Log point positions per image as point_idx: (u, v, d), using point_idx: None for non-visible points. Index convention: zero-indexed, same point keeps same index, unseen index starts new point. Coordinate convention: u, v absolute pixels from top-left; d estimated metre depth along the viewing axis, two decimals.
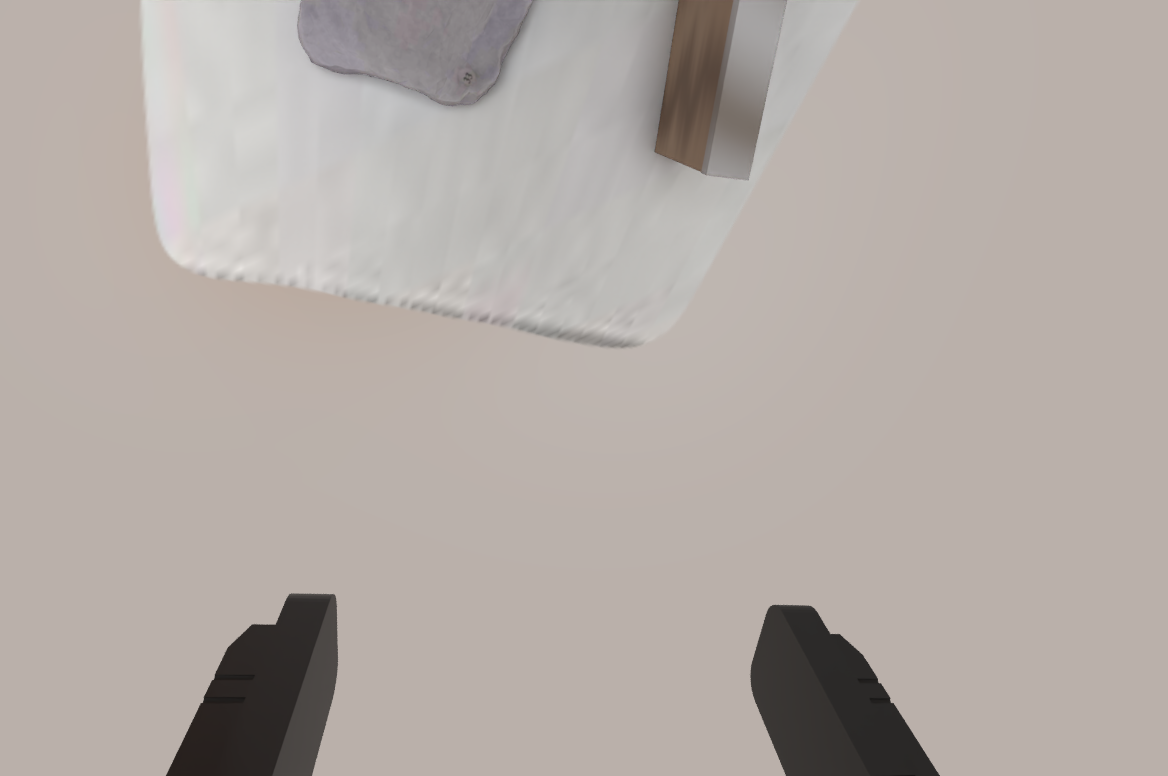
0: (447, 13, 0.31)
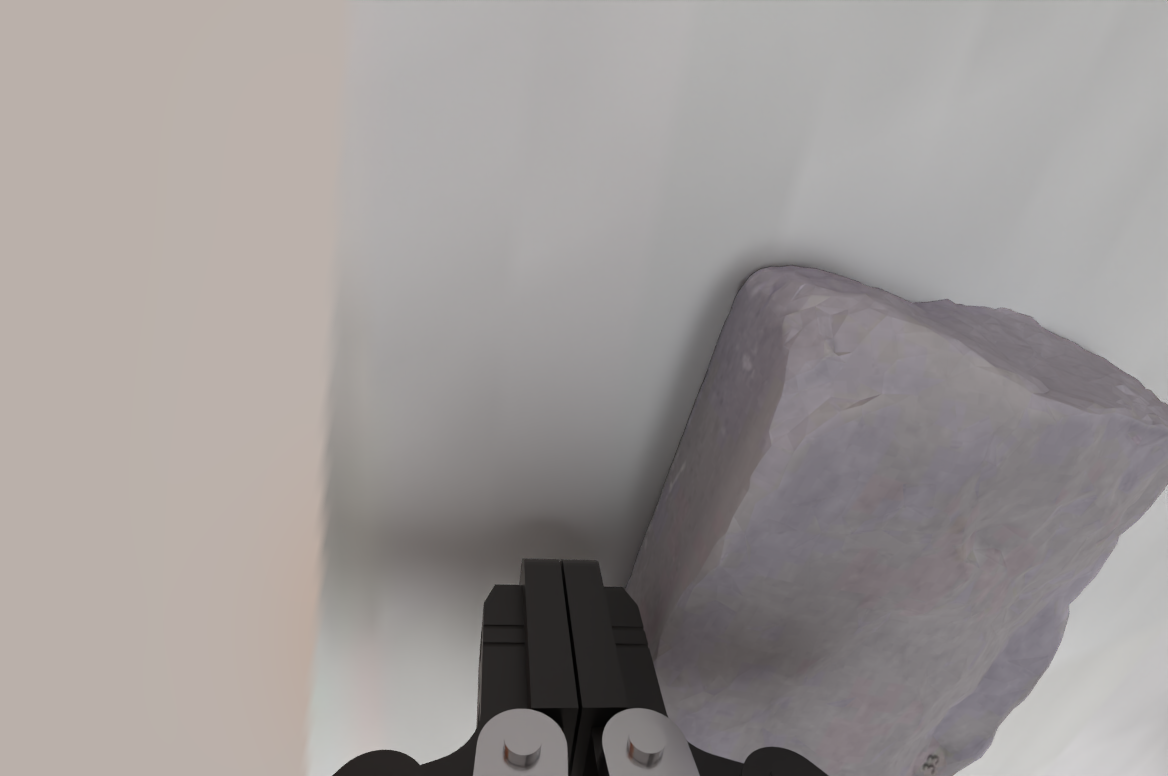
0: (932, 702, 0.14)
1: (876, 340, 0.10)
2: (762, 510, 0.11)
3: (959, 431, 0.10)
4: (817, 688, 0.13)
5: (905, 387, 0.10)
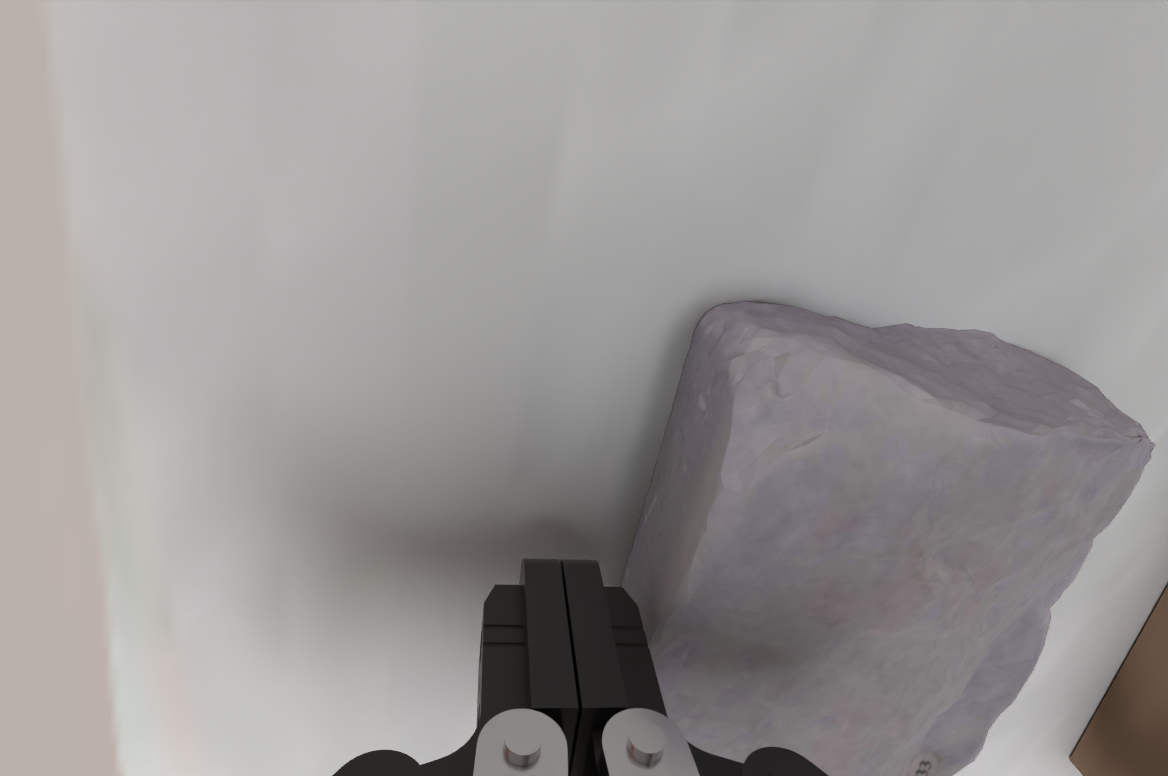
0: (915, 713, 0.14)
1: (817, 381, 0.11)
2: (721, 547, 0.11)
3: (904, 463, 0.11)
4: (798, 707, 0.14)
5: (847, 425, 0.11)
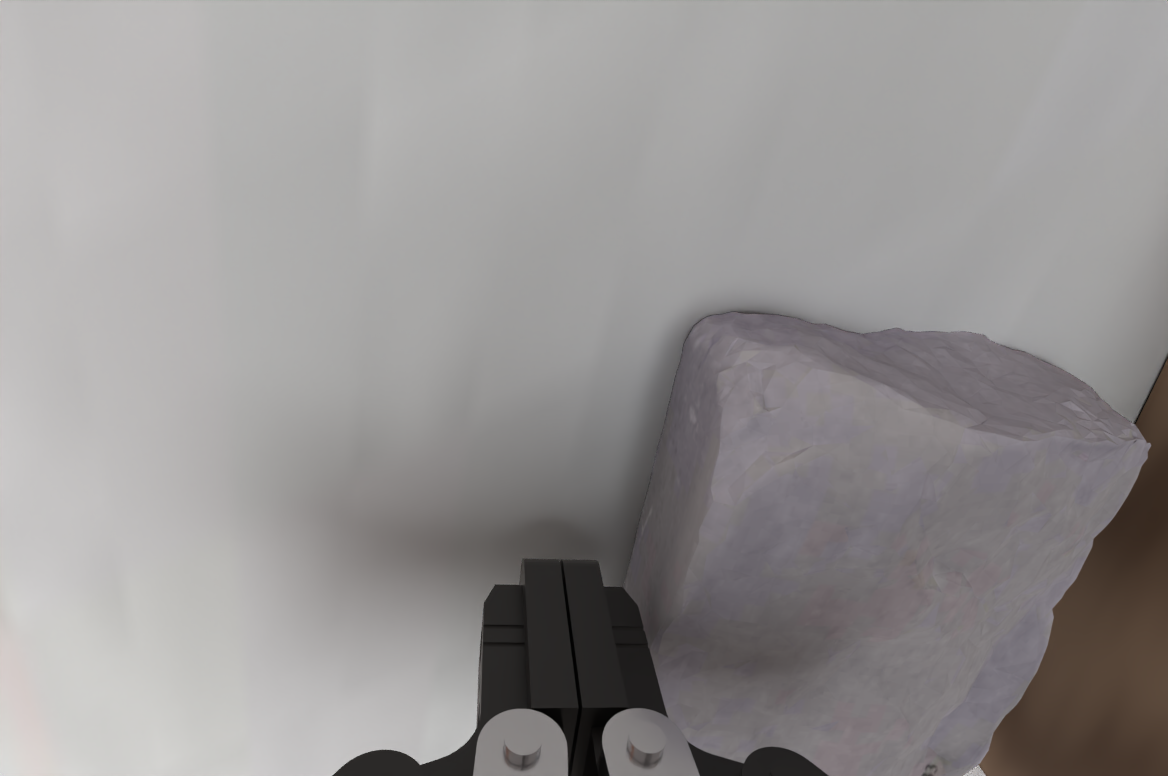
0: (917, 718, 0.14)
1: (804, 393, 0.11)
2: (714, 560, 0.11)
3: (893, 474, 0.11)
4: (799, 715, 0.14)
5: (835, 437, 0.11)
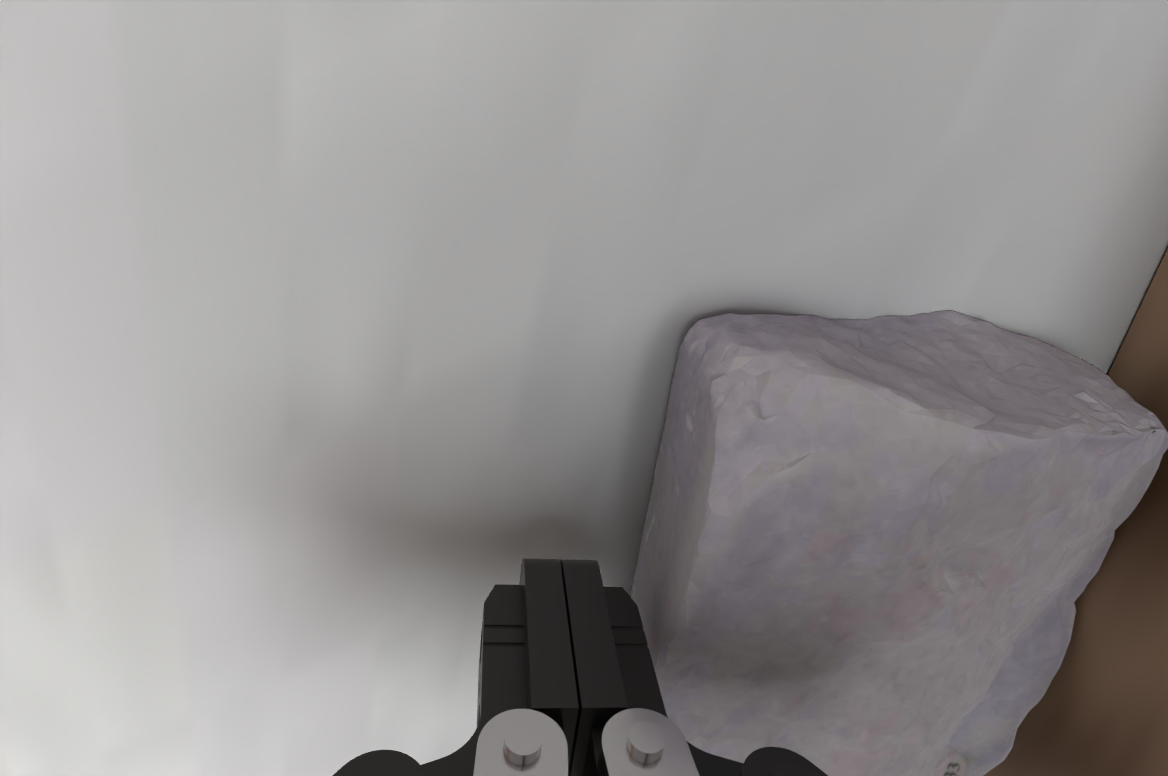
0: (935, 719, 0.14)
1: (800, 400, 0.10)
2: (715, 572, 0.11)
3: (896, 479, 0.10)
4: (813, 720, 0.14)
5: (834, 444, 0.10)
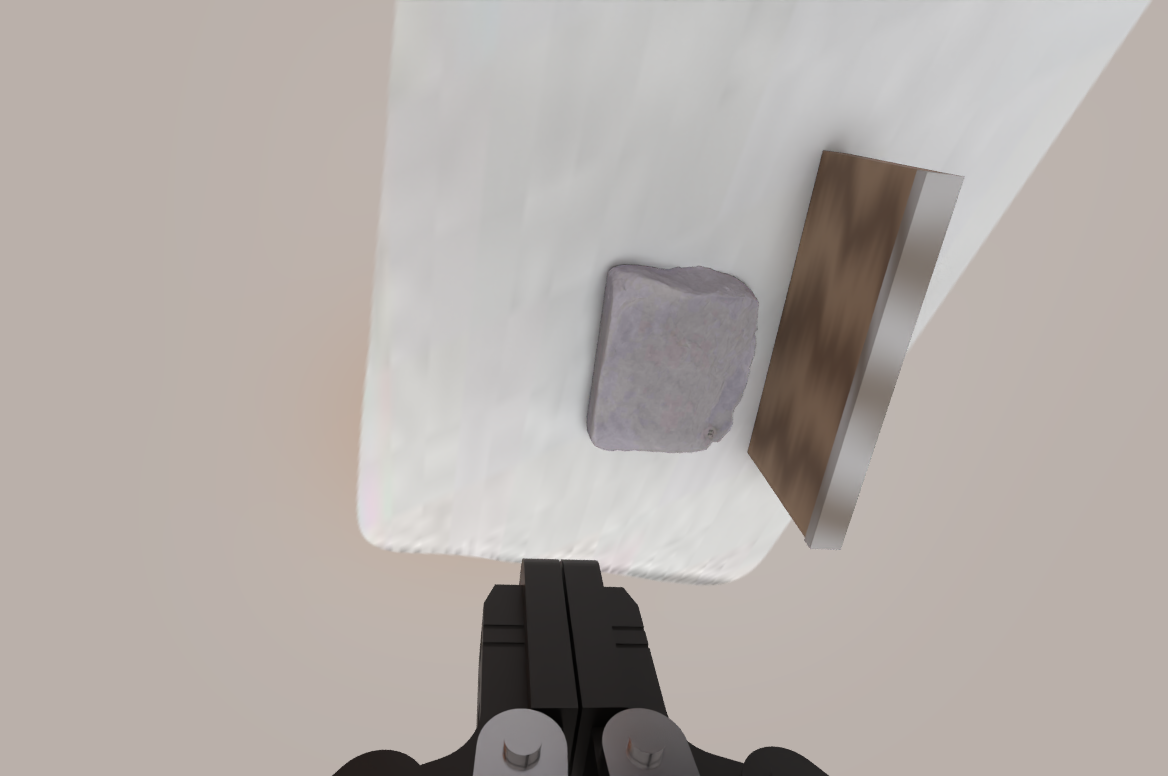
0: (696, 402, 0.42)
1: (634, 284, 0.38)
2: (614, 336, 0.39)
3: (660, 305, 0.38)
4: (653, 399, 0.41)
5: (643, 295, 0.38)
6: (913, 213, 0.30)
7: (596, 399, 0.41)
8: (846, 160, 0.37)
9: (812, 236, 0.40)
